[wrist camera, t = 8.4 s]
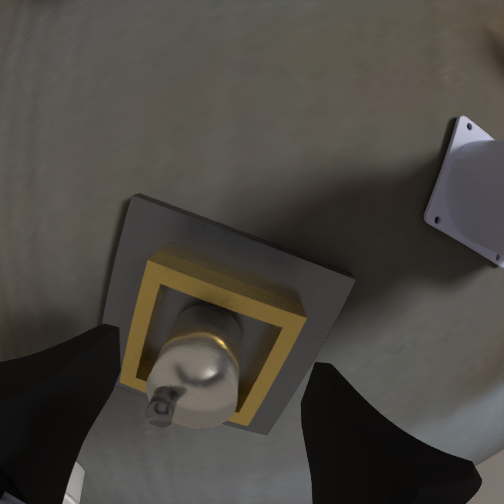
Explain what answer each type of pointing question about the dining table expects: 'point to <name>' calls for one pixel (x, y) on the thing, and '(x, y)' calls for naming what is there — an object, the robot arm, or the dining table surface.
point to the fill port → (221, 302)
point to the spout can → (196, 371)
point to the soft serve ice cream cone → (74, 485)
